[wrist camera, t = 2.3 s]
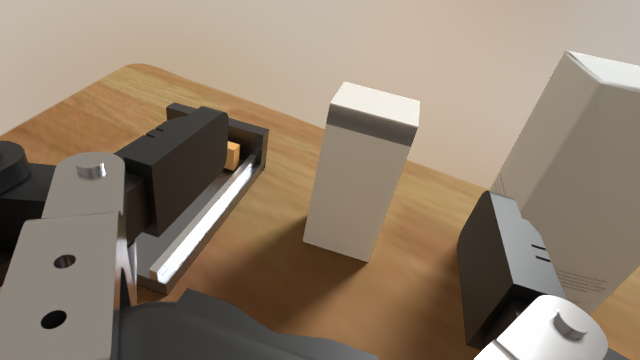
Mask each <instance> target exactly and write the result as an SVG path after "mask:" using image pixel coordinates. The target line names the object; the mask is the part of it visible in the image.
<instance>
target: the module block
mask: <svg viewBox="0 0 640 360" xmlns="http://www.w3.org/2000/svg"><path fill="white" fill-rule="evenodd" d="M419 110H420V101H417V100H413V99H409V98H406V97H401V96H398V95H394V94H390V93H386V92H383V91H379V90H375V89H371V88H367V87H363V86H360V85H356V84H352V83H348V82H344V83H343V85H342V86H341V88H340V89H339V91H338V92H337V94H336V95H335V97H334V98H333V100H332V101H331V103H330V107H329V112H328V117H327V122H326V127H325V132H324V137H323V142H322V147H321V152H320V157H319V162H318V167H317V172H316V177H315V182H314V187H313V192H312V197H311V202H310V207H309V212H308V216H307V221H306V226H305V231H304V236H303V242H306V243H309V244H312V245H315V246H318V247H321V248H324V249H328V250H331V251H334V252H337V253H340V254H343V255H346V256H349V257H353V258H356V259H359V260H362V261H365V262H369V259H370V256H371V254H372V251H373V248H374V245H375V243H376V240H377V237H378V235H379V232H380V229H381V226H382V224H383V221H384V218H385V216H386V213H387V210H388V207H389V205H390V202H391V199H392V197H393V194H394V191H395V188H396V186H397V183H398V180H399V178H400V175H401V172H402V169H403V167H404V164H405V161H406V159H407V156H408V153H409V150H410V148H411V145H412V142H413V139H414V137H415V134H416V131H417V129H418V123H419Z"/></svg>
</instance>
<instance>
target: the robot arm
mask: <svg viewBox="0 0 640 360" xmlns="http://www.w3.org/2000/svg"><path fill="white" fill-rule="evenodd" d="M228 126H229V118H228V115H227V113H225V112H222V111H219V110H215V109H212V108H209V107H205V106H202V107H200V108H198V109H197V110H195V111H194V112H192V113H191V114H189V115H187V116H186V117H185V116H182V117H178V118H175V119H171V120H167V121H166V122H164V123H162V124H161V125H159V126H158V127H156V129H153V130H151V131H150V132H148V133H146V136H145V135H143V136H141V137H140V138H138V139H137V140H135V141H133V142H132V143H130V144H129V145H127V146H125V147H124V148H122V149H120V150H119V151H117V152H116V153H114V154H111V153H106V152H86V153H80V154H76V155H73V156H70V157H68V158H66V159H64V160H63V161H61V162H60V163H59V164H58V165H57V166H54V165H44V164H34V163H28V161H27V158H26V155H25V152H24V149H23V148H22V147H21V146H20V145H18V144H16V143H13V142H9V141H0V287H1V286H2V285H3V287H2V290H1V293H0V360H378V356H376V355H373V354H370V353H367V352H365V351H362V350H359V349H356V348H353V347H351V346H348V345H345V344H342V343H339V342H337V341H334V340H331V339H326V338H316V337H307V336H297V335H288V334H279V333H275V332H273V331H271V330H269V329H268V328H267V327H265V326H264V325H262V324H261V323H259V322H258V321H256V320H255V319H253V318H252V317H250V316H249V315H247V314H246V313H244V312H243V311H242V310H240V309H239V308H237V307H236V306H234V305H233V304H230V303H228V302H225V301H222V300H219V299H216V298H214V297H211V296H208V295H205V294H202V293H200V292H197V291H194V290H191V289H188V288H187V289H186V291H185V292H184V293H183V295H182V296H181V298H180V299H179V300H178V302H152V303H145V304H140V305H137V245H136V238H137V237H138V236H139V235H140V234H141V233H142V232H143V233H146V234H149V235H152V236H155V237H158V238H159V237H160V236H161V235H162V234H163V233H164V232H165V231H166V229H167V228H168V227H169V226H170V225H171V224H172V223H173V222H174V221H175V220H176V219H177V218H178V217H179V216H180V215H181V214H182V213H183V212H184V211H185V210H186V209H187V208H188V207H189V206H190V205H191V204H192V203H193V202H194V201H195V200H196V198H197V197H198V196H199V195H200V194H201V193H202V192H203V191H204V190H205V189H206V188H207V187H208V186H209V185H210V184H211V183H212V182H213V181H214V180H215V179H216V178H217V177H218V176H219V175H220V174H221V172H222V171H223V169H224V166H225V164H226V160H227V148H228ZM545 249H546V247H545V245H544V242H543V240H542V237H541V235H540V234H539V232H538V231H537V230H536V229H535V228H534V227H533V226H532V224H531V223H530V222H529V221H528V220H525V219H522V217H521V214H520V212H519V209H518V206H517V203H516V201H515V199H514V198H511V197H508V196H504V195H501V194H498V193H494V192H491V191H485V192H484V193H483V194H482V195H481V197H480V198H479V200H478V202H477V204H476V206H475V207H474V209H473V211H472V213H471V215H470V216H469V218H468V220H467V222H466V223H465V225H464V227H463V229H462V231H461V233H460V236H459V239H458V245H457V253H458V263H459V274H460V284H461V294H462V304H463V315H464V325H465V335H466V345H467V346H470V347H473V348H476V349H479V350H482V352H481V353H480V354H479V355H478V356H477V357H476V358H475V359H474V360H629V359H627V358H626V357H624V356H622V355H620V354H619V353H617V352H615V351H613V350H612V349H610V348H608V343H607V339H606V337H605V334H604V333H603V331H602V329H601V328H600V327H599V325H598V324H597V323H596V322H595V321H594V320H593V319H592V318H591V317H590V316H589V315H588V314H587V313H586V312H585V311H583V310H582V309H581V308H579V307H578V306H576V305H575V304H573V303H571V302H569V301H567V299H566V297H565V294H564V292H563V289H562V287H561V284H560V282H559V279H558V277H557V275H556V272H555V270H554V267H553V265H552V263H550V257H549V255H548V252H547V251H545Z"/></svg>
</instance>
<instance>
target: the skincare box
mask: <svg viewBox="0 0 640 360" xmlns="http://www.w3.org/2000/svg"><path fill="white" fill-rule="evenodd" d="M489 191H491V192H494V193H498V194H501V195H504V196H508V197H511V198H514V199H515V201H516V203H517V206H518V209H519V212H520V214H521V217H522V219H525V220H528V221H529V222H530V223H531V224H532V226H533V227H534V228H535V229H536V230H537V231H538V232H539V234H540V235H541V237H542V240H543V242H544V245H545V247H546V249H545V251H547V252H548V255H549V257H550V263H552V265H553V267H554V270H555V272H556V275H557V277H558V279H559V282H560V284H561V287H562V289H563V292H564V294H565V297H566V299H567V301H569V302H571V303H573V304H575V305H576V306H578V307H579V308H581V309H582V310H583V311H585V312H586V313H587V314H588V315H590V314H591V313H592V312H593V311H594V310H595V309H597V308H598V307H599V306H600V305H601V304H602V303H603V302H604V301H605V300H606V299H607V298H608V297H609V296H610V295H611V294H612V292H613V291H614V290H615V289H616V288H617V287H618V286H619V285H620V284H621V283H622V282H623V281H625V280H626V279H627V278H628V277H629V276H630V275H631V274H632V273H633V272H634V271H635V270H636V269H637V268H638V267H639V266H640V66H637V65H632V64H628V63H623V62H618V61H613V60H608V59H604V58H599V57H594V56H590V55H585V54H580V53H576V52H572V51H567V50H566V51H565V52H564V55H563V56H562V58H561V60H560V61H559V63H558V65H557V67H556V69H555V70H554V72H553V74H552V76H551V78H550V80H549V82H548V84H547V85H546V87H545V89H544V91H543V93H542V95H541V97H540V98H539V100H538V102H537V104H536V106H535V108H534V109H533V111H532V113H531V115H530V117H529V119H528V121H527V122H526V124H525V126H524V128H523V130H522V131H521V133H520V135H519V137H518V139H517V141H516V142H515V145H514V146H513V148H512V150H511V152H510V153H509V155H508V157H507V159H506V161H505V163H504V164H503V166H502V168H501V170H500V172H499V173H498V175H497V177H496V179H495V181H494V183H493V185H492V186H491V188H490V190H489Z"/></svg>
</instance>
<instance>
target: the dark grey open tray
mask: <svg viewBox="0 0 640 360" xmlns="http://www.w3.org/2000/svg"><path fill="white" fill-rule="evenodd" d="M195 110H197V109H195V108H192V107H188V106H185V105H181V104H178V103H175V102H174V103H173V104H171V105H169V106H168V107H166V111H167V120H171V119H175V118H178V117H182V116H185V117H186V116H187V115H189V114H191V113H192V112H194V111H195ZM268 133H269V129H265V128H262V127H258V126H255V125H251V124H248V123H244V122H241V121H237V120H234V119H230V118H229V126H228V141H229V142H233V143H236V144H239V145H240V149H239V165H238V166H237V167H236V168H235V170H234V171H233V170H230V169H226V168H224V169H223V171H222V172H221V174H220V175H219V176H218V177H217V178H216V179H215V180H214V181H213V182H212V183H211V184H210V185H209V186H208V187H207V188H206V189H205V190H204V191H203V192H202V193H201V194H200V195H199V196H198V197H197V198H196V200H195V201H194V202H193V203H192V204H191V205H190V206H189V207H188V208H187V209H186V210H185V211H184V212H183V213H182V214H181V215H180V216H179V217H178V218H177V219H176V220H175V221H174V222H173V223H172V224H171V225H170V226H169V227H168V228H167V229H166V231H165V232H164V233H163V234H162V235H161V236H160V237H159V238H158V237H155V236H152V235H149V234H146V233H143V232H142V233H141V234H140V235H139V236H138V237H137V238H136V245H137V285H140V286H143V287H146V288H148V289H151V290H154V291H157V292H160V293H162V294H165V295H168V294H169V292H170V291H171V290H172V289H173V287H174V286H175V285H176V283H177V282H178V281H179V279H180V278H181V277H182V276H183V274H184V273H185V272H186V270H187V269H188V268H189V266H190V265H191V264H192V262H193V261H194V260H195V259H196V257H197V256H198V255H199V253H200V252H201V251H202V249H203V248H204V247H205V245H206V244H207V243H208V242H209V240H210V239H211V238H212V236H213V235H214V234H215V232H216V231H217V230H218V229H219V227H220V226H221V225H222V223H223V222H224V221H225V219H226V218H227V217H228V215H229V214H230V213H231V212H232V210H233V209H234V208H235V206H236V205H237V204H238V202H239V201H240V200H241V198H242V197H243V196H244V195H245V193H246V192H247V191H248V189H249V188H250V187H251V185H252V184H253V183H254V181H255V180H256V179H257V178H258V176H259V175H260V174H261V172H262V171H263V170H264V168H265V163H266V153H267V143H268Z"/></svg>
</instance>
